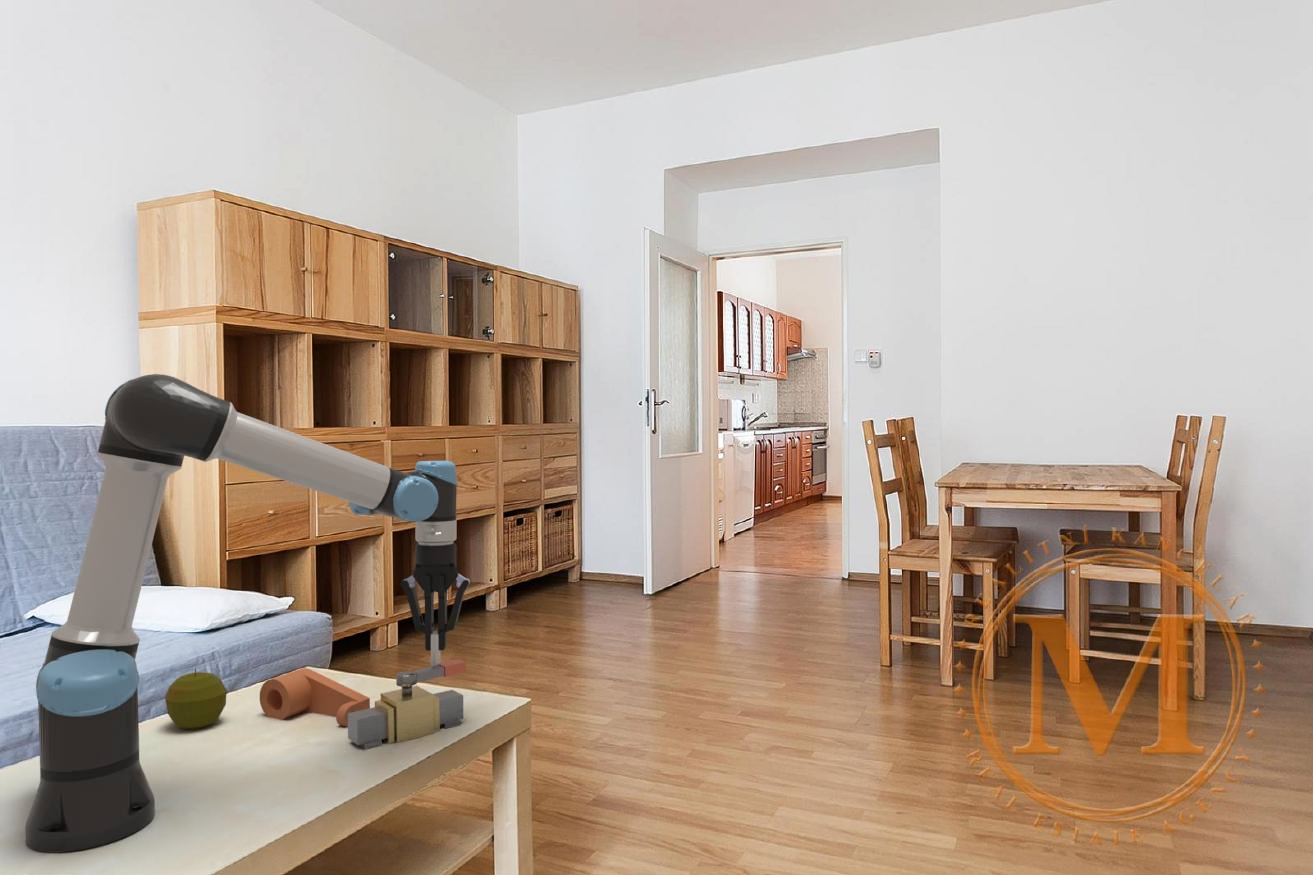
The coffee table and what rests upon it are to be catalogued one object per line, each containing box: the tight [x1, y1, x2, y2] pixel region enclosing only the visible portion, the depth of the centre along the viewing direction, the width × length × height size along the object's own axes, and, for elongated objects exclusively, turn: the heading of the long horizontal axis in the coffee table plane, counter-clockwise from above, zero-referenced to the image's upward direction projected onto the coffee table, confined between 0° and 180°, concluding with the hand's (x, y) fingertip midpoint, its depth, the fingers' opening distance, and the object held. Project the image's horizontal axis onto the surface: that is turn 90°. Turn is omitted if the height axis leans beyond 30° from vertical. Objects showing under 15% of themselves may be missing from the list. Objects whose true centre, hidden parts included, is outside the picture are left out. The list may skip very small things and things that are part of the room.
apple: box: [164, 668, 228, 731], centre depth 162 cm, size 10×10×11 cm
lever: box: [395, 659, 467, 688], centre depth 161 cm, size 13×4×2 cm, turn 135°
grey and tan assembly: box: [347, 685, 465, 750], centre depth 158 cm, size 20×7×8 cm, turn 130°
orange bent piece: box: [259, 667, 371, 728], centre depth 167 cm, size 20×8×8 cm, turn 65°
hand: (435, 667), depth 165 cm, fingers closed
